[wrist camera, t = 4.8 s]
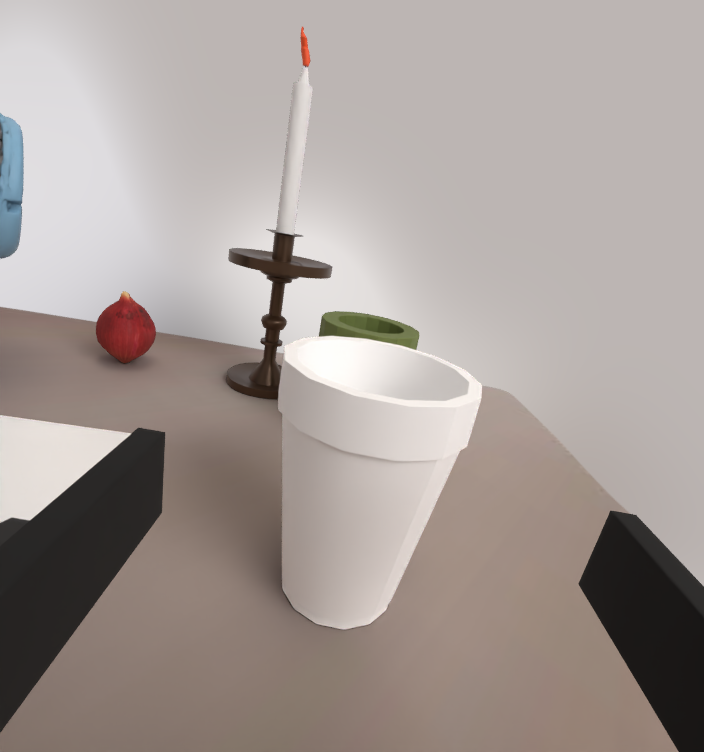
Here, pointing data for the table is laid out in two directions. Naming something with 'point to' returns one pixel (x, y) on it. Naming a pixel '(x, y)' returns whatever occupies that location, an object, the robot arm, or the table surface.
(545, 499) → the table surface
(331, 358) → the foam cup
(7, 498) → the teacup and saucer
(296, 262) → the candlestick
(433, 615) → the table surface
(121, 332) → the onion
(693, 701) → the robot arm
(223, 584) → the table surface
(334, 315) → the thick-walled green cup
